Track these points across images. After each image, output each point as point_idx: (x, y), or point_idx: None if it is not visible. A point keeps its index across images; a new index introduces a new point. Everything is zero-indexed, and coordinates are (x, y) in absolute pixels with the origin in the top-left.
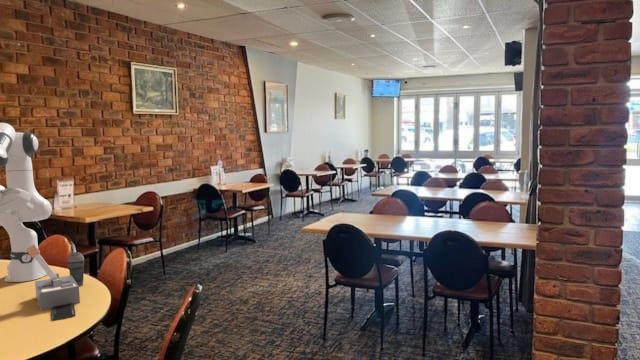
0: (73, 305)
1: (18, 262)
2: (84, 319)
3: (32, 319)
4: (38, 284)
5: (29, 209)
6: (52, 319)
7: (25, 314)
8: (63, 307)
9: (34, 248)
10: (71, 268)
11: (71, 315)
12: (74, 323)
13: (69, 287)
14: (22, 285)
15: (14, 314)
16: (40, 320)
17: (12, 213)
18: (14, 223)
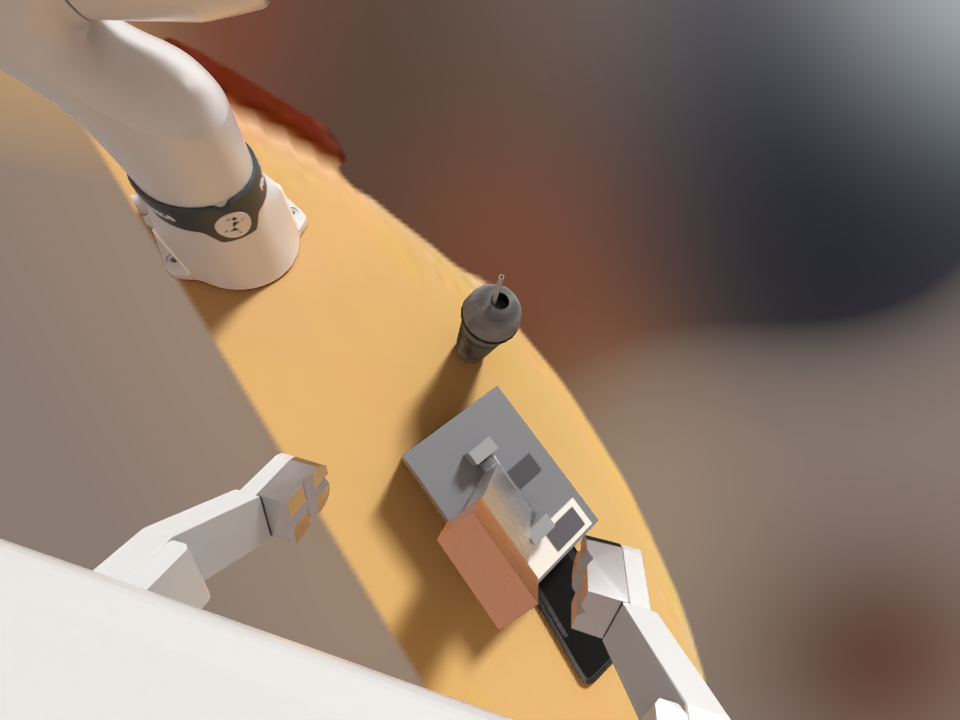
0: (576, 553)
1: (204, 238)
2: None
3: (516, 677)
4: (439, 494)
5: (573, 578)
6: (583, 680)
7: (464, 630)
8: (557, 573)
9: (531, 607)
10: (481, 346)
11: None
12: None
13: (577, 537)
14: (272, 325)
15: (426, 633)
16: (546, 684)
17: (291, 539)
18: (60, 51)
